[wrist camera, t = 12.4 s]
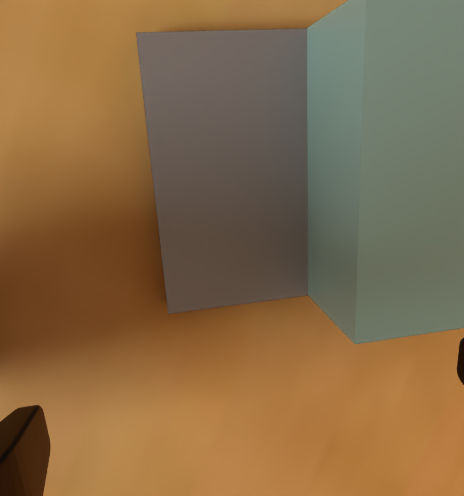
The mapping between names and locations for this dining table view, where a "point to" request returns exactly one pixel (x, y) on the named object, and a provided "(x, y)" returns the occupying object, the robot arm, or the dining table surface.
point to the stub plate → (228, 163)
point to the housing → (387, 167)
